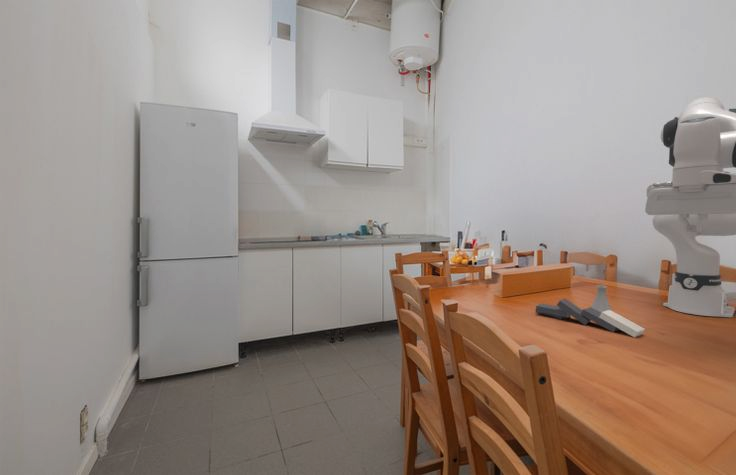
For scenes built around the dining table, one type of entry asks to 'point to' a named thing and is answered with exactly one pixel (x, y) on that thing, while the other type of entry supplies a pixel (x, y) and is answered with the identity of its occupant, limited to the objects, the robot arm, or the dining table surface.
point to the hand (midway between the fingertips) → (692, 231)
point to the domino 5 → (622, 323)
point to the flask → (601, 300)
